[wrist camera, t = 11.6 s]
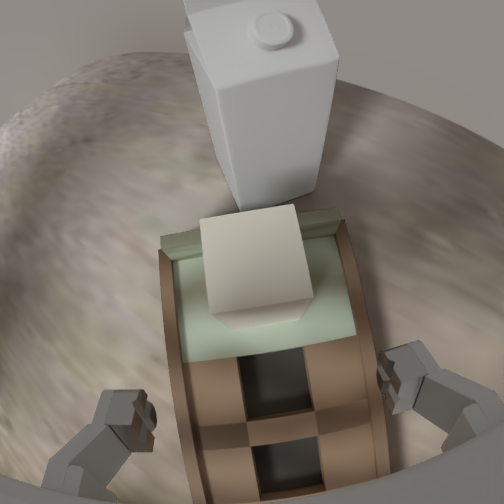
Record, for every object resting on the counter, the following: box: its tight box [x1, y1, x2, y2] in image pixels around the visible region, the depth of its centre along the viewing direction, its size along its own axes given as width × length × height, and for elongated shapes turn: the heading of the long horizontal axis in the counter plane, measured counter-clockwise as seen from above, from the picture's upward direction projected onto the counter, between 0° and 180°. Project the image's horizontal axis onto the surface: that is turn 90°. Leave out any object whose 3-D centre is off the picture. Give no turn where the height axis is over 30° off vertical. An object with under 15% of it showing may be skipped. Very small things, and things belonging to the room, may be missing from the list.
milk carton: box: [183, 0, 339, 212], centre depth 20 cm, size 7×7×19 cm
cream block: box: [200, 204, 314, 330], centre depth 20 cm, size 5×5×8 cm
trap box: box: [158, 207, 390, 504], centre depth 20 cm, size 30×15×5 cm, turn 9°
